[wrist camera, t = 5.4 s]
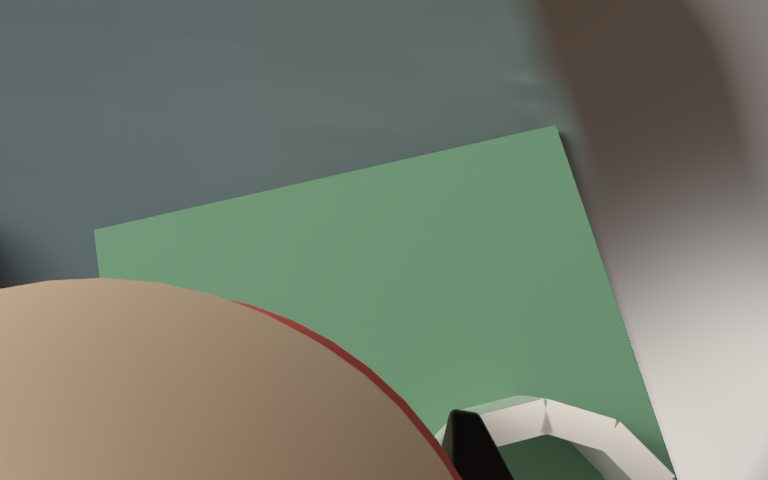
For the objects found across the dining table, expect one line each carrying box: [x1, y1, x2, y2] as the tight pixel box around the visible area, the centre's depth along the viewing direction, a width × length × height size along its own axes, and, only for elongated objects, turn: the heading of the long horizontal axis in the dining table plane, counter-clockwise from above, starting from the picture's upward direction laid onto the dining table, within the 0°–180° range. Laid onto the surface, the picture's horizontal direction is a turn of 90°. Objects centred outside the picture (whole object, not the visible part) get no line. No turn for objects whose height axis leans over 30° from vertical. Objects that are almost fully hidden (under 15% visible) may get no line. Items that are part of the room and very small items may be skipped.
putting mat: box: [94, 125, 677, 480], centre depth 20 cm, size 22×19×1 cm
